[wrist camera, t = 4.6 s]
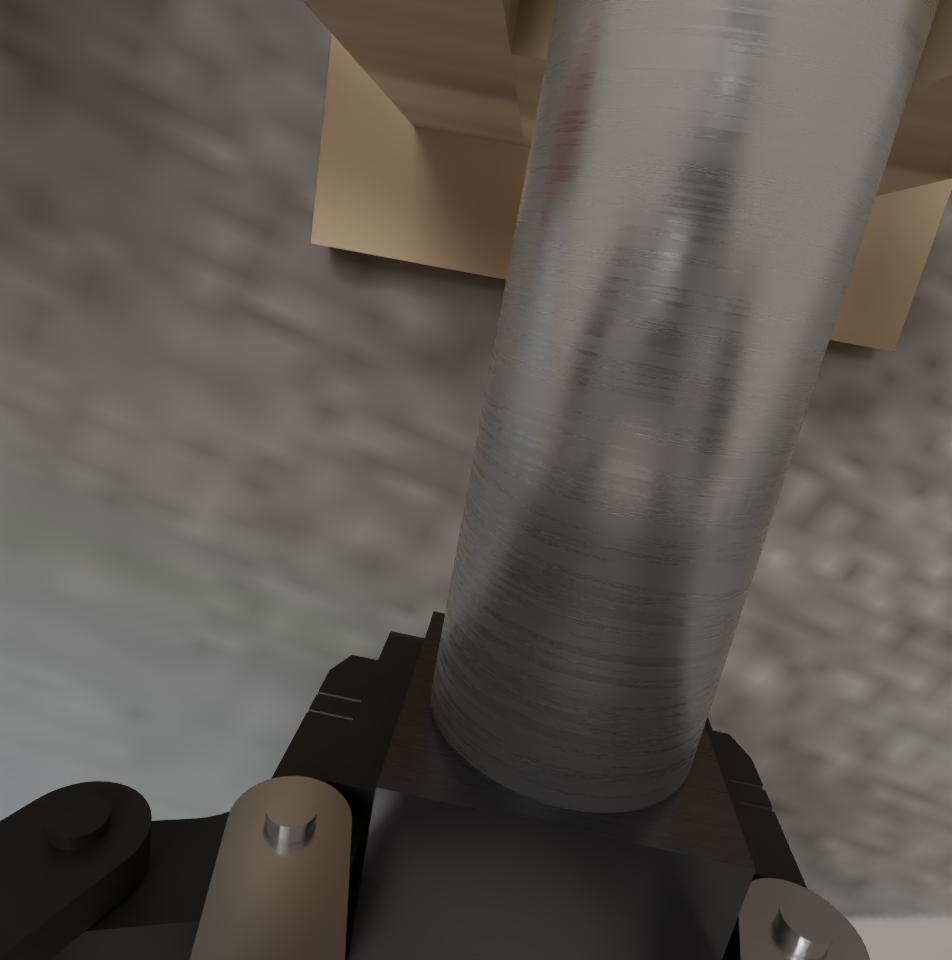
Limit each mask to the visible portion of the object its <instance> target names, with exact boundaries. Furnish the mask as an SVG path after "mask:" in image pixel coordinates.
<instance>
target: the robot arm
mask: <svg viewBox="0 0 952 960" xmlns="http://www.w3.org/2000/svg"><path fill="white" fill-rule="evenodd" d="M424 640H425V638H421V637H416V636H412V635H407V634H402V633H397V632H392V631H391V632H390V634H389V636H388V639H387V641H386V643H385V646H384V648H383V650H382V653H381V655H380V657H379V660H374V659H369V658H364V657H359V656H355V655H351V656H350V657H348V658H347V659H345V660H344V661H342V662H341V663H339V664H338V665H337V666H335V667H334V668H332V669H331V670H330V671H329V673H328V674H327V676H326V678H325V680H324V682H323V684H322V686H321V687H320V689H319V692H318V695H316V697H315V699H314V700H313V702H312V704H311V706H310V708H309V712H308V713H306V715H305V717H304V719H303V721H302V723H301V725H300V726H299V728H298V730H297V732H296V734H295V736H294V738H293V739H292V741H291V743H290V745H289V747H288V749H287V751H286V752H285V754H284V756H283V758H282V760H281V762H280V764H279V765H278V767H277V769H276V771H275V773H274V775H273V777H272V778H271V779H270V780H267V781H264V782H262V783H259V784H257V785H255V786H254V787H252V788H250V789H249V790H247V791H246V792H245V793H244V794H242V795H241V796H240V798H239V799H238V800H237V801H236V802H235V804H234V805H233V807H232V808H231V810H230V812H227V813H224V814H221V815H216V816H212V817H206V818H197V819H179V820H160V821H151V818H152V817H151V809H150V807H149V805H148V802H147V801H146V800H145V798H144V797H143V796H142V795H141V794H140V793H138V792H137V791H136V790H134V789H132V788H130V787H128V786H125V785H122V784H119V783H113V782H101V781H95V782H84V783H79V784H73V785H70V786H66V787H63V788H60V789H57V790H55V791H52V792H50V793H48V794H46V795H44V796H42V797H40V798H38V799H36V800H35V801H33V802H31V803H30V804H28V805H26V806H25V807H23V808H21V809H20V810H18V811H16V812H15V813H13V814H11V815H10V816H8V817H7V818H5V819H3V820H2V821H0V960H345V947H346V941H350V942H351V938H352V932H353V926H354V919H355V913H356V907H357V901H358V895H359V889H360V883H361V876H362V870H363V864H364V858H365V852H366V846H367V840H368V833H369V827H370V821H371V815H372V809H373V803H374V797H375V790H376V786H377V783H378V780H379V777H380V774H381V771H382V768H383V765H384V762H385V759H386V755H387V752H388V749H389V746H390V743H391V740H392V737H393V734H394V731H395V728H396V725H397V722H398V719H399V716H400V713H401V710H402V707H403V704H404V701H405V698H406V695H407V692H408V689H409V685H410V682H411V679H412V676H413V673H414V670H415V667H416V664H417V661H418V658H419V655H420V652H421V649H422V646H423V643H424ZM705 728H706V731H707V734H708V737H709V740H710V742H711V745H712V748H713V751H714V754H715V756H716V759H717V762H718V765H719V768H720V771H721V773H722V776H723V779H724V782H725V785H726V787H727V790H728V793H729V796H730V799H731V801H732V804H733V807H734V810H735V813H736V816H737V818H738V821H739V824H740V827H741V830H742V832H743V835H744V838H745V841H746V844H747V847H748V849H749V852H750V855H751V858H752V861H753V863H754V866H755V869H756V870H755V873H754V876H753V878H752V881H751V884H750V886H749V889H748V892H747V894H746V897H745V900H744V902H743V905H742V907H741V910H740V913H739V915H738V918H737V921H736V923H735V926H734V929H733V931H732V934H731V937H730V939H729V942H728V945H727V947H726V950H725V953H724V955H723V958H722V960H870V958H869V955H868V952H867V949H866V947H865V945H864V943H863V941H862V939H861V937H860V936H859V934H858V933H857V931H856V930H855V928H854V927H853V926H852V925H851V923H850V922H849V921H848V920H847V919H846V918H845V917H844V916H843V915H842V914H841V913H840V912H839V911H838V910H837V909H836V908H835V907H834V906H832V905H831V904H830V903H829V902H827V901H826V900H825V899H823V898H822V897H820V896H819V895H817V894H816V893H814V892H812V891H810V890H808V889H807V887H806V885H805V882H804V880H803V878H802V875H801V873H800V871H799V868H798V866H797V864H796V861H795V859H794V857H793V854H792V852H791V850H790V847H789V845H788V843H787V840H786V838H785V836H784V833H783V831H782V829H781V826H780V824H779V822H778V819H777V817H776V815H775V812H772V805H771V803H770V801H769V798H768V796H767V794H766V791H765V790H763V789H762V786H763V784H762V782H761V780H760V777H759V775H758V773H757V770H756V768H755V766H754V763H753V761H752V759H751V758H750V757H749V755H748V754H747V753H746V752H745V751H744V750H743V749H742V748H741V747H740V746H739V745H738V743H737V742H736V741H735V740H734V739H733V738H732V737H731V736H730V735H729V734H726V733H721V732H717V731H713V730H712V727H711V725H710V722H709V719H708V717H707V719H706V722H705Z"/></svg>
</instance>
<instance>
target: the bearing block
mask: <svg viewBox="0 0 952 960" xmlns="http://www.w3.org/2000/svg"><path fill="white" fill-rule="evenodd" d="M303 1H304V3H305V4H306V5H307V6H308V7H309V8H310V9H311V11H312V12H313V13H314V14H315V15H316V16H317V17H318V18H319V20H320V21H321V22H322V23H323V24H324V25H325V26H326V28H327V29H328V30H329V31H330V32H331V33H332V36H331V46H330V56H329V66H328V76H327V86H326V96H325V106H324V116H323V126H322V136H321V146H320V156H319V166H318V176H317V185H316V195H315V205H314V215H313V225H312V235H311V243H312V244H317V245H322V246H328V247H333V248H339V249H344V250H349V251H355V252H360V253H365V254H371V255H376V256H382V257H387V258H392V259H398V260H403V261H408V262H414V263H419V264H424V265H430V266H435V267H441V268H446V269H451V270H457V271H462V272H467V273H473V274H478V275H484V276H489V277H494V278H500V279H505V280H506V277H507V272H508V266H509V261H510V255H511V250H512V245H513V239H514V234H515V228H516V223H517V217H518V212H519V206H520V201H521V195H522V190H523V184H524V179H525V173H526V168H527V162H528V157H529V151H530V146H531V140H532V135H533V129H534V124H535V118H536V113H537V108H538V102H539V97H540V91H541V86H542V80H543V75H544V69H545V64H546V58H547V53H548V47H549V42H550V36H551V31H552V25H553V20H554V14H555V9H556V3H557V0H303ZM951 191H952V0H939V3H938V6H937V9H936V13H935V16H934V19H933V22H932V25H931V28H930V31H929V34H928V37H927V40H926V43H925V46H924V50H923V53H922V56H921V59H920V62H919V65H918V68H917V71H916V74H915V77H914V80H913V84H912V87H911V90H910V93H909V96H908V99H907V102H906V105H905V108H904V111H903V114H902V117H901V121H900V124H899V127H898V130H897V133H896V136H895V139H894V142H893V145H892V148H891V151H890V155H889V158H888V161H887V164H886V167H885V170H884V173H883V176H882V179H881V182H880V185H879V188H878V192H877V195H876V198H875V201H874V204H873V207H872V210H871V213H870V216H869V219H868V222H867V226H866V229H865V232H864V235H863V238H862V241H861V244H860V247H859V250H858V253H857V256H856V259H855V263H854V266H853V269H852V272H851V275H850V278H849V281H848V284H847V287H846V290H845V293H844V297H843V300H842V303H841V306H840V309H839V312H838V315H837V318H836V321H835V324H834V327H833V330H832V334H831V337H830V340H833V341H838V342H844V343H849V344H854V345H860V346H865V347H871V348H876V349H881V350H887V351H892V352H895V349H896V346H897V344H898V341H899V338H900V335H901V332H902V329H903V327H904V324H905V321H906V318H907V315H908V312H909V310H910V307H911V304H912V301H913V298H914V295H915V293H916V290H917V287H918V284H919V281H920V278H921V276H922V273H923V270H924V267H925V264H926V261H927V259H928V256H929V253H930V250H931V247H932V244H933V242H934V239H935V236H936V233H937V230H938V228H939V225H940V222H941V219H942V216H943V213H944V211H945V208H946V205H947V202H948V199H949V196H950V194H951Z"/></svg>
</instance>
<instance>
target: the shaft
mask: <svg viewBox="0 0 952 960" xmlns="http://www.w3.org/2000/svg"><path fill="white" fill-rule="evenodd" d="M938 3H939V0H557V3H556V9H555V14H554V20H553V25H552V31H551V36H550V42H549V47H548V53H547V58H546V64H545V69H544V75H543V80H542V86H541V91H540V97H539V102H538V108H537V113H536V118H535V124H534V129H533V135H532V140H531V146H530V151H529V157H528V162H527V168H526V173H525V179H524V184H523V190H522V195H521V201H520V206H519V212H518V217H517V223H516V228H515V234H514V239H513V245H512V250H511V255H510V261H509V266H508V272H507V277H506V283H505V288H504V294H503V299H502V305H501V310H500V316H499V321H498V327H497V332H496V338H495V343H494V349H493V354H492V360H491V365H490V371H489V376H488V382H487V387H486V392H485V398H484V403H483V409H482V414H481V420H480V425H479V431H478V436H477V442H476V447H475V453H474V458H473V464H472V469H471V475H470V480H469V486H468V491H467V497H466V502H465V508H464V513H463V519H462V524H461V530H460V535H459V540H458V546H457V551H456V557H455V562H454V568H453V573H452V579H451V584H450V590H449V595H448V601H447V606H446V612H445V614H444V613H439V612H435V611H434V612H433V615H432V618H431V622H430V625H429V628H428V631H427V634H426V637H425V640H424V643H423V646H422V649H421V652H420V655H419V658H418V661H417V664H416V667H415V670H414V673H413V676H412V679H411V682H410V685H409V689H408V692H407V695H406V698H405V701H404V704H403V707H402V710H401V713H400V716H399V719H398V722H397V725H396V728H395V731H394V734H393V737H392V740H391V743H390V746H389V749H388V752H387V755H386V759H385V762H384V765H383V768H382V771H381V774H380V777H379V780H378V783H377V786H376V790H375V797H374V803H373V809H372V815H371V821H370V827H369V833H368V840H367V846H366V852H365V858H364V864H363V870H362V876H361V883H360V889H359V895H358V901H357V907H356V913H355V919H354V926H353V932H352V938H351V942H350V941H346V947H345V960H722V958H723V955H724V953H725V950H726V947H727V945H728V942H729V939H730V937H731V934H732V931H733V929H734V926H735V923H736V921H737V918H738V915H739V913H740V910H741V907H742V905H743V902H744V900H745V897H746V894H747V892H748V889H749V886H750V884H751V881H752V878H753V876H754V873H755V870H756V869H755V866H754V863H753V861H752V858H751V855H750V852H749V849H748V847H747V844H746V841H745V838H744V835H743V832H742V830H741V827H740V824H739V821H738V818H737V816H736V813H735V810H734V807H733V804H732V801H731V799H730V796H729V793H728V790H727V787H726V785H725V782H724V779H723V776H722V773H721V771H720V768H719V765H718V762H717V759H716V756H715V754H714V751H713V748H712V745H711V742H710V740H709V737H708V734H707V731H706V728H705V722H706V719H707V716H708V713H709V710H710V707H711V704H712V701H713V698H714V695H715V692H716V689H717V685H718V682H719V679H720V676H721V673H722V670H723V667H724V664H725V661H726V658H727V655H728V651H729V648H730V645H731V642H732V639H733V636H734V633H735V630H736V627H737V624H738V621H739V618H740V614H741V611H742V608H743V605H744V602H745V599H746V596H747V593H748V590H749V587H750V584H751V580H752V577H753V574H754V571H755V568H756V565H757V562H758V559H759V556H760V553H761V550H762V547H763V543H764V540H765V537H766V534H767V531H768V528H769V525H770V522H771V519H772V516H773V513H774V509H775V506H776V503H777V500H778V497H779V494H780V491H781V488H782V485H783V482H784V479H785V476H786V472H787V469H788V466H789V463H790V460H791V457H792V454H793V451H794V448H795V445H796V442H797V438H798V435H799V432H800V429H801V426H802V423H803V420H804V417H805V414H806V411H807V408H808V405H809V401H810V398H811V395H812V392H813V389H814V386H815V383H816V380H817V377H818V374H819V371H820V367H821V364H822V361H823V358H824V355H825V352H826V349H827V346H828V343H829V340H830V337H831V334H832V330H833V327H834V324H835V321H836V318H837V315H838V312H839V309H840V306H841V303H842V300H843V297H844V293H845V290H846V287H847V284H848V281H849V278H850V275H851V272H852V269H853V266H854V263H855V259H856V256H857V253H858V250H859V247H860V244H861V241H862V238H863V235H864V232H865V229H866V226H867V222H868V219H869V216H870V213H871V210H872V207H873V204H874V201H875V198H876V195H877V192H878V188H879V185H880V182H881V179H882V176H883V173H884V170H885V167H886V164H887V161H888V158H889V155H890V151H891V148H892V145H893V142H894V139H895V136H896V133H897V130H898V127H899V124H900V121H901V117H902V114H903V111H904V108H905V105H906V102H907V99H908V96H909V93H910V90H911V87H912V84H913V80H914V77H915V74H916V71H917V68H918V65H919V62H920V59H921V56H922V53H923V50H924V46H925V43H926V40H927V37H928V34H929V31H930V28H931V25H932V22H933V19H934V16H935V13H936V9H937V6H938Z"/></svg>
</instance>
